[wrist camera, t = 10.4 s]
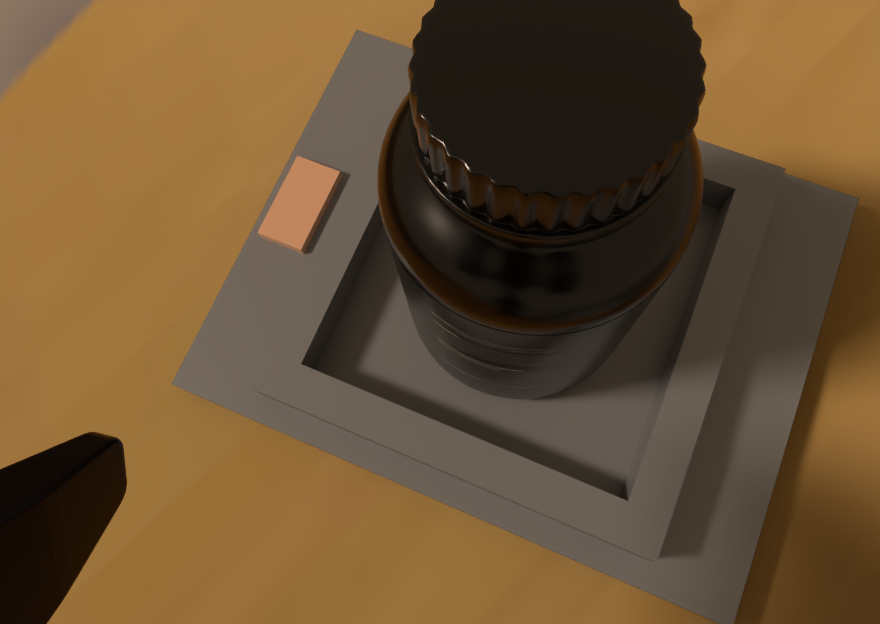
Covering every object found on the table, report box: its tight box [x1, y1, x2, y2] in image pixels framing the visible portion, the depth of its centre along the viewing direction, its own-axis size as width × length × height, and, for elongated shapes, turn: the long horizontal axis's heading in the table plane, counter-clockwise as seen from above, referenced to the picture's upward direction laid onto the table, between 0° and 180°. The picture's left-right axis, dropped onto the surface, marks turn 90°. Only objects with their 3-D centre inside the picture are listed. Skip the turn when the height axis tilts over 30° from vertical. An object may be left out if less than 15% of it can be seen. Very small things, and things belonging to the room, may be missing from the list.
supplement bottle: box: [377, 0, 706, 399], centre depth 17 cm, size 7×7×12 cm
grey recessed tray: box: [172, 30, 859, 624], centre depth 23 cm, size 14×18×2 cm
